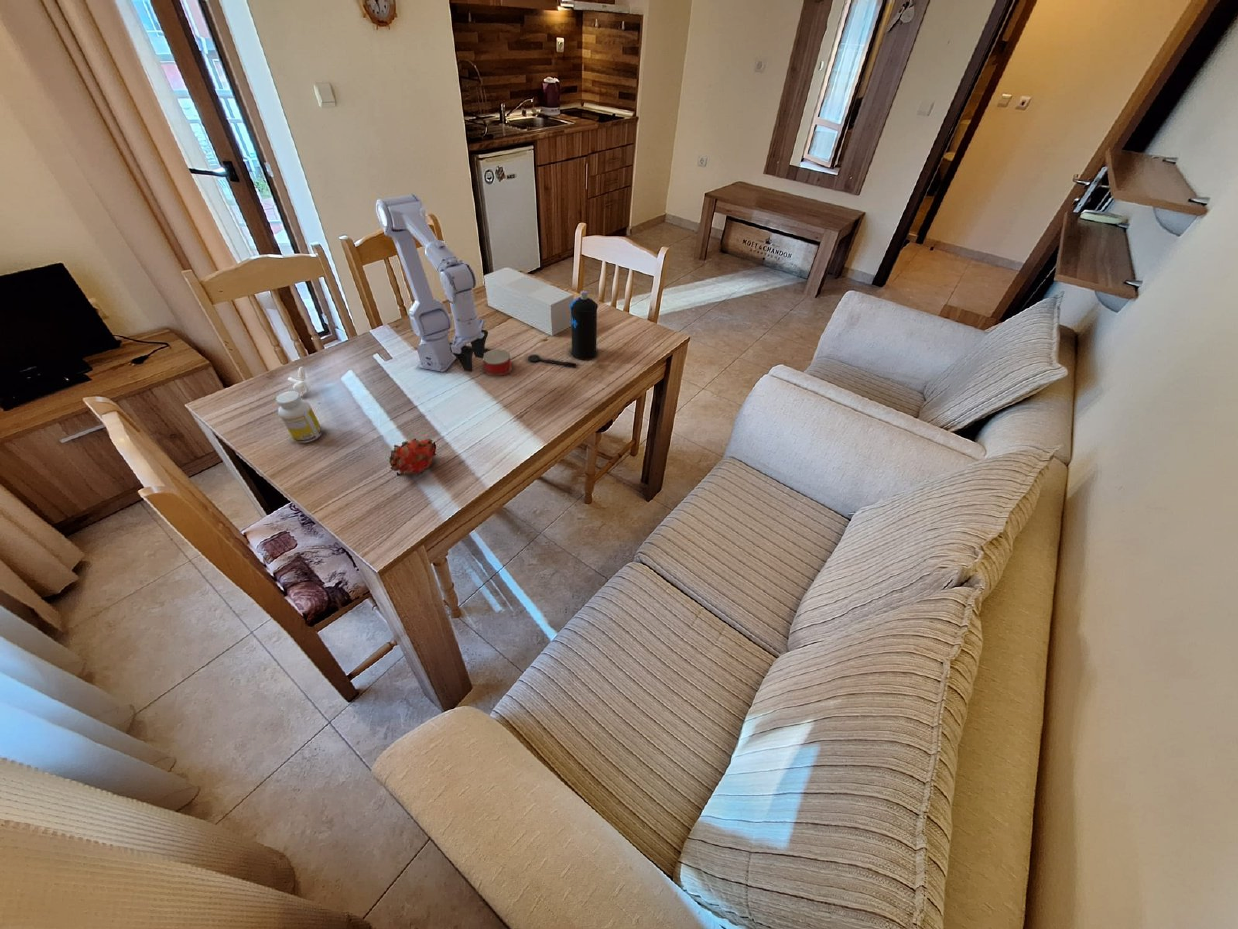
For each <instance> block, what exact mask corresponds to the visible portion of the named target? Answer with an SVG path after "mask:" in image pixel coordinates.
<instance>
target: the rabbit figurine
mask: <svg viewBox="0 0 1238 929" xmlns="http://www.w3.org/2000/svg"><path fill="white" fill-rule="evenodd" d="M297 376H298V379H299V380H298V379H295V378H294V377H292V376H291V377H290V376H289V377H287V381H288V382H289V383H291V384H293V386H292V391H296V392H298V393H299V395H300V396H301V397H304V395H305V394H307V393H308V388H309V386H308V384H307V383H306V381H305V380H306V370H305V367H304V366H302V365H301V366H300V367H298V371H297Z"/></svg>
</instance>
